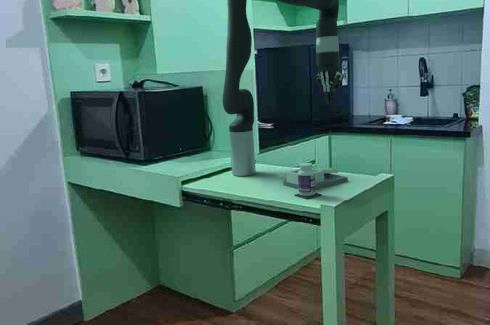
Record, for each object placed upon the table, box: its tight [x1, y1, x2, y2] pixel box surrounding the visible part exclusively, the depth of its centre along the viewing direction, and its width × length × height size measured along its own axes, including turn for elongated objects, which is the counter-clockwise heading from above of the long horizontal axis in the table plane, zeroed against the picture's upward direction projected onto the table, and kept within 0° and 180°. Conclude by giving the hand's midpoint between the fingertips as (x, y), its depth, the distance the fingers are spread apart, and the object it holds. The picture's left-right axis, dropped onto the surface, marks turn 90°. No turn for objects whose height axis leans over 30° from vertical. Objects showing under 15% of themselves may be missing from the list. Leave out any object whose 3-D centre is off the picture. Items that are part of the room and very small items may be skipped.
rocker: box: [312, 167, 339, 174], centre depth 157 cm, size 4×8×1 cm, turn 123°
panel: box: [282, 168, 349, 191], centre depth 155 cm, size 13×18×5 cm
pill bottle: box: [298, 162, 317, 196], centre depth 140 cm, size 5×5×10 cm
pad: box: [294, 192, 323, 200], centre depth 140 cm, size 6×6×1 cm
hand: (329, 102), depth 154 cm, fingers closed
